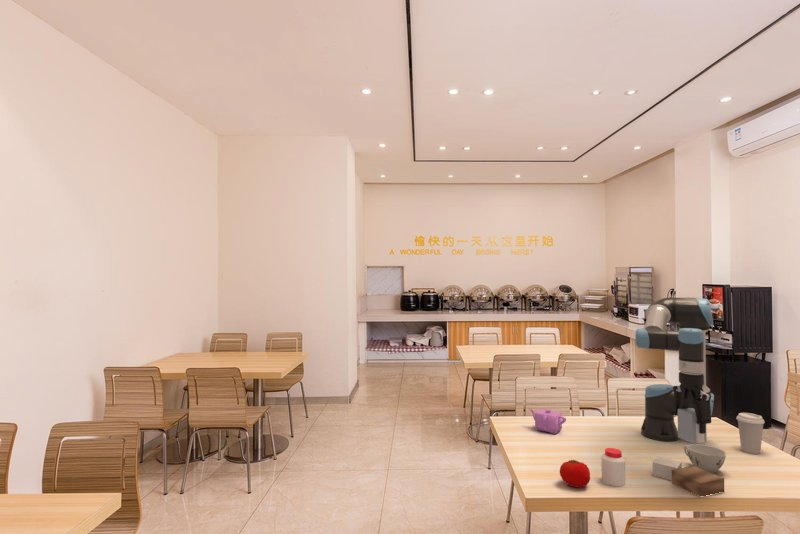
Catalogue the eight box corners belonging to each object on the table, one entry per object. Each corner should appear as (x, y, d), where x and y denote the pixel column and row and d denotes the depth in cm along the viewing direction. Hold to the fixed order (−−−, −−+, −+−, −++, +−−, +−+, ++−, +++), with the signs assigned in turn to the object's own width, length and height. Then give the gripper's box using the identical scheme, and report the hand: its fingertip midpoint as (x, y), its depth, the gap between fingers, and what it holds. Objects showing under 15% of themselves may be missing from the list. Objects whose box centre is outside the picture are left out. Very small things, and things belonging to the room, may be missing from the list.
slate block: (677, 437, 163) (677, 409, 163) (691, 435, 164) (691, 407, 164) (692, 443, 157) (691, 414, 157) (706, 441, 158) (706, 412, 158)
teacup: (734, 474, 170) (734, 453, 170) (710, 479, 166) (710, 457, 166) (696, 459, 184) (695, 439, 184) (673, 463, 180) (673, 443, 180)
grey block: (652, 475, 169) (652, 462, 169) (657, 469, 175) (657, 455, 175) (677, 482, 164) (677, 468, 164) (681, 475, 170) (681, 461, 170)
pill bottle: (597, 477, 167) (597, 446, 168) (617, 476, 168) (617, 446, 168) (608, 486, 160) (608, 455, 160) (629, 486, 160) (629, 454, 161)
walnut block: (671, 484, 163) (671, 470, 163) (694, 479, 166) (693, 465, 166) (701, 498, 152) (701, 483, 152) (724, 493, 156) (724, 478, 156)
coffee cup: (770, 456, 188) (769, 419, 188) (744, 454, 190) (743, 418, 190) (757, 447, 197) (756, 412, 197) (732, 446, 199) (731, 411, 199)
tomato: (595, 490, 157) (595, 466, 157) (566, 491, 156) (566, 466, 156) (582, 478, 166) (582, 455, 166) (555, 479, 165) (555, 456, 165)
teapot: (523, 430, 219) (523, 409, 219) (533, 422, 230) (533, 402, 230) (562, 438, 208) (562, 415, 208) (570, 430, 219) (570, 408, 220)
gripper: (661, 367, 169) (661, 430, 169) (706, 379, 151) (706, 449, 150) (677, 366, 171) (678, 429, 170) (724, 378, 152) (725, 447, 152)
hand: (691, 438), depth 160 cm, fingers closed on slate block, 6 cm apart
